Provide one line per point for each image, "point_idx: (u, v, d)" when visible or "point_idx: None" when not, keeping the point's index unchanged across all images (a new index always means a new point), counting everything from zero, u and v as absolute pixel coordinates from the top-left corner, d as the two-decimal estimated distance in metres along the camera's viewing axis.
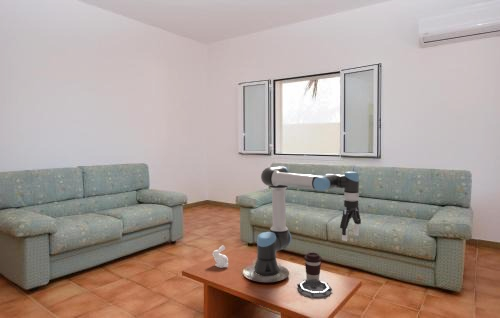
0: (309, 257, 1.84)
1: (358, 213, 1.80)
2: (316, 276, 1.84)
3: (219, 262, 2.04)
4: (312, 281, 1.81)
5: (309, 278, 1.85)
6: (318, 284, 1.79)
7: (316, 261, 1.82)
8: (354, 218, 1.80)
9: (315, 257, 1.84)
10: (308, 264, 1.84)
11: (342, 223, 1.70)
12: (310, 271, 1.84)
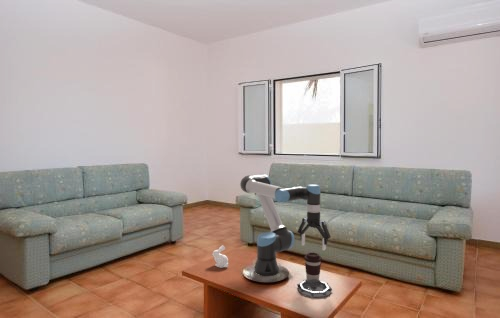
0: (309, 257, 1.84)
1: (323, 228, 1.81)
2: (316, 276, 1.84)
3: (219, 262, 2.04)
4: (312, 281, 1.81)
5: (309, 278, 1.85)
6: (318, 284, 1.79)
7: (316, 261, 1.82)
8: None
9: (315, 257, 1.84)
10: (308, 264, 1.84)
11: None
12: (310, 271, 1.84)
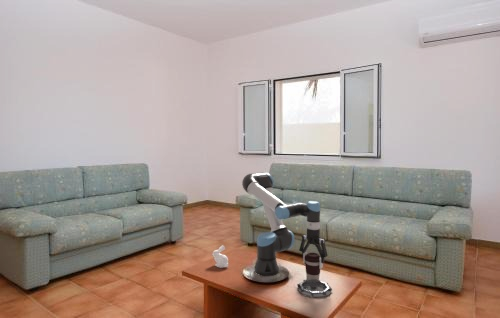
0: (309, 257, 1.84)
1: (321, 246, 1.82)
2: (316, 276, 1.84)
3: (219, 262, 2.04)
4: (312, 281, 1.81)
5: (309, 278, 1.85)
6: (318, 284, 1.79)
7: (316, 261, 1.82)
8: None
9: (315, 257, 1.84)
10: (308, 264, 1.84)
11: None
12: (310, 271, 1.84)
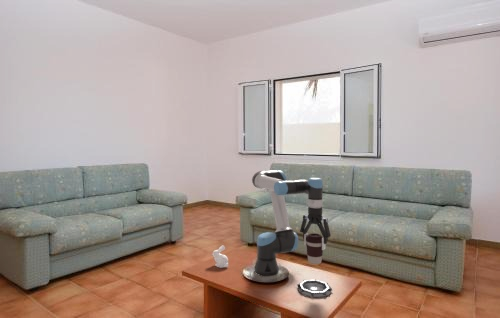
0: (311, 238, 1.71)
1: (324, 225, 1.68)
2: (318, 258, 1.70)
3: (219, 262, 2.04)
4: (312, 281, 1.81)
5: (311, 260, 1.71)
6: (318, 284, 1.79)
7: (318, 242, 1.69)
8: None
9: (317, 238, 1.70)
10: (310, 245, 1.71)
11: None
12: (312, 253, 1.70)
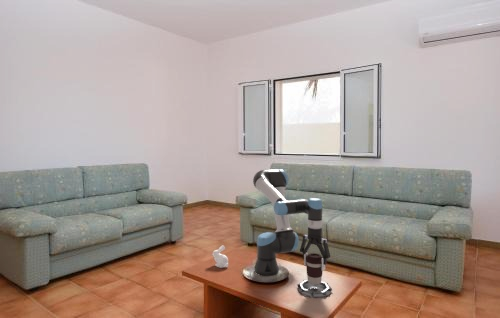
0: (310, 258, 1.71)
1: (324, 246, 1.69)
2: (318, 279, 1.71)
3: (219, 262, 2.04)
4: None
5: (310, 281, 1.72)
6: (318, 284, 1.79)
7: (318, 262, 1.69)
8: None
9: (317, 258, 1.70)
10: (309, 266, 1.71)
11: None
12: (311, 273, 1.71)
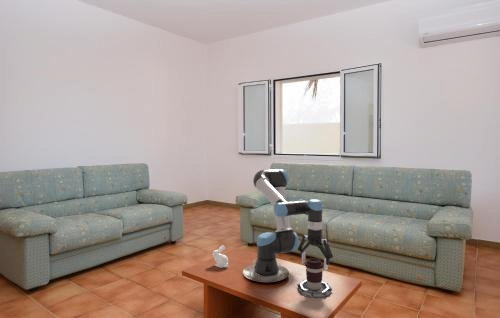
0: (310, 263, 1.72)
1: (325, 247, 1.68)
2: (318, 284, 1.71)
3: (219, 262, 2.04)
4: None
5: (310, 286, 1.72)
6: None
7: (318, 268, 1.70)
8: None
9: (316, 263, 1.71)
10: (309, 271, 1.72)
11: None
12: (311, 278, 1.71)
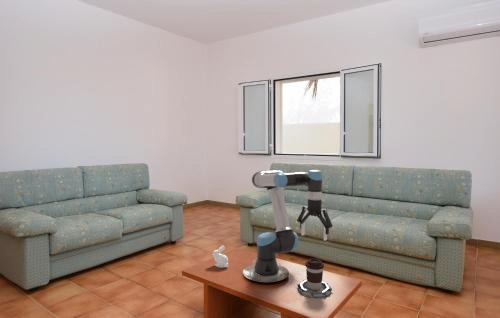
0: (310, 264, 1.71)
1: (324, 216, 1.68)
2: (318, 284, 1.71)
3: (219, 262, 2.04)
4: None
5: (310, 286, 1.72)
6: None
7: (318, 268, 1.69)
8: None
9: (317, 264, 1.71)
10: (309, 271, 1.71)
11: None
12: (311, 279, 1.71)
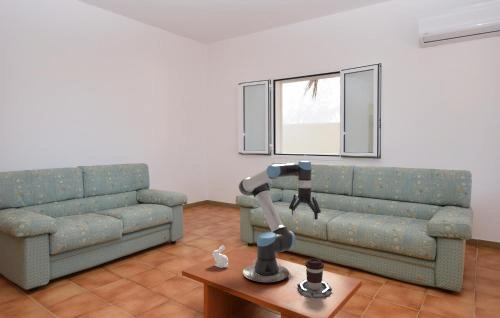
0: (310, 264, 1.71)
1: (313, 203, 1.84)
2: (318, 284, 1.71)
3: (219, 262, 2.04)
4: None
5: (310, 286, 1.72)
6: None
7: (318, 268, 1.69)
8: None
9: (317, 264, 1.71)
10: (309, 271, 1.71)
11: None
12: (311, 279, 1.71)
